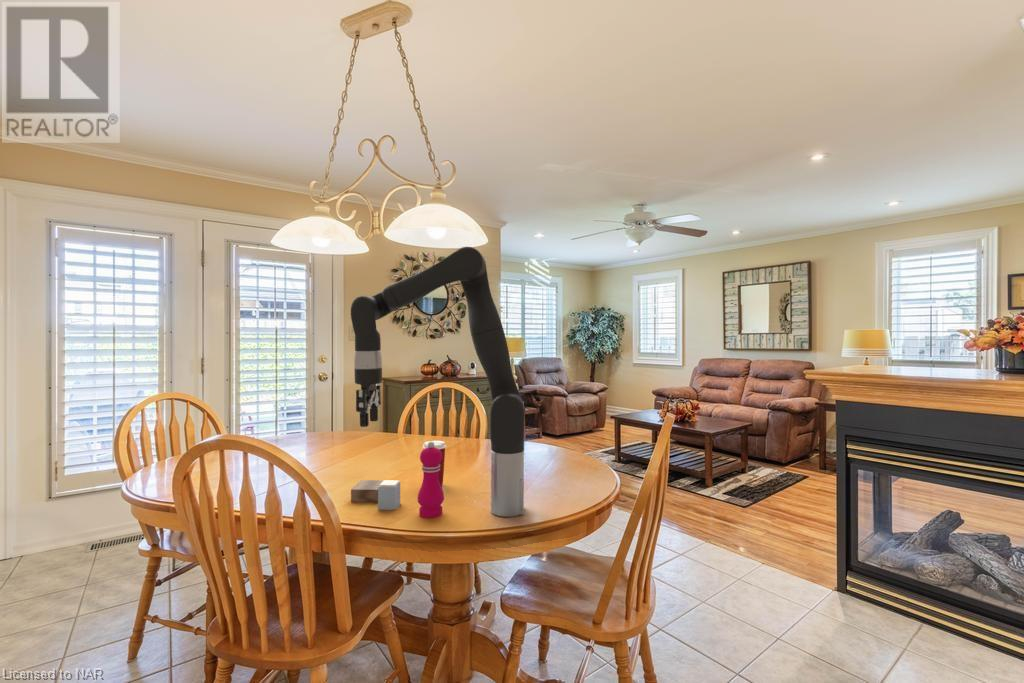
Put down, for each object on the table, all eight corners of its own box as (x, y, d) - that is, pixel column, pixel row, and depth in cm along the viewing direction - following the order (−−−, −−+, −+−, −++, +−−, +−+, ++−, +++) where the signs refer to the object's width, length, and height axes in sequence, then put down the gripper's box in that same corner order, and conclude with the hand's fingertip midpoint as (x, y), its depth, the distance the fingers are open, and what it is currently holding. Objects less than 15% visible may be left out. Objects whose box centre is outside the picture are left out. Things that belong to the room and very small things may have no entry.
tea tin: (400, 503, 142) (400, 480, 142) (395, 510, 137) (395, 485, 137) (383, 503, 142) (383, 479, 142) (378, 509, 137) (378, 485, 137)
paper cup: (449, 482, 162) (449, 441, 161) (440, 490, 154) (440, 446, 154) (428, 480, 164) (428, 439, 164) (417, 487, 156) (417, 444, 156)
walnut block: (389, 493, 152) (389, 480, 152) (381, 503, 143) (381, 489, 143) (361, 492, 152) (361, 480, 152) (351, 502, 143) (351, 489, 143)
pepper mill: (412, 513, 134) (412, 441, 134) (434, 507, 139) (434, 437, 139) (427, 521, 129) (427, 446, 128) (449, 514, 134) (449, 441, 134)
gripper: (373, 368, 130) (374, 428, 131) (388, 365, 145) (389, 419, 145) (345, 368, 131) (347, 428, 131) (363, 365, 145) (364, 419, 145)
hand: (369, 423), depth 138 cm, fingers open, 8 cm apart
